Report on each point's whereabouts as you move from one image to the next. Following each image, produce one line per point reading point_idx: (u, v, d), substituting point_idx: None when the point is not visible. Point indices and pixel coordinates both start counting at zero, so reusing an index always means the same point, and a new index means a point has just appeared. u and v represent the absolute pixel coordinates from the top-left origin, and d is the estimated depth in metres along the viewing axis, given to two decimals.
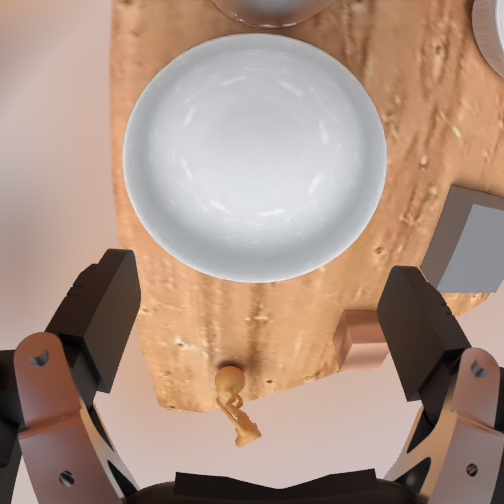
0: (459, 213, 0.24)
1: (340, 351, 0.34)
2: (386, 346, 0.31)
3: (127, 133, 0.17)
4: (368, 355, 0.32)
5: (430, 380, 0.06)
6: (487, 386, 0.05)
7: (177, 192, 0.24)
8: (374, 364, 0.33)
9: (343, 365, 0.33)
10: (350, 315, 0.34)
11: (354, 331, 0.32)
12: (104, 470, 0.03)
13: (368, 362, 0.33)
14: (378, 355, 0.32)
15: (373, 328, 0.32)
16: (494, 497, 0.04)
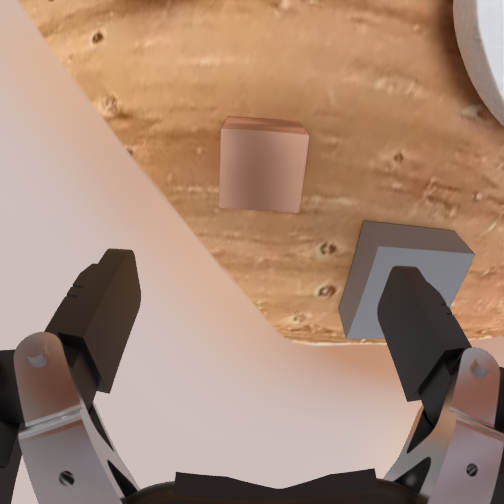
0: (454, 244, 0.23)
1: (246, 124, 0.18)
2: (290, 201, 0.19)
3: None
4: (269, 173, 0.18)
5: (430, 380, 0.06)
6: (487, 386, 0.05)
7: None
8: (235, 194, 0.19)
9: (240, 131, 0.17)
10: None
11: None
12: (104, 470, 0.03)
13: (243, 180, 0.19)
14: (265, 194, 0.19)
15: None
16: (494, 497, 0.04)
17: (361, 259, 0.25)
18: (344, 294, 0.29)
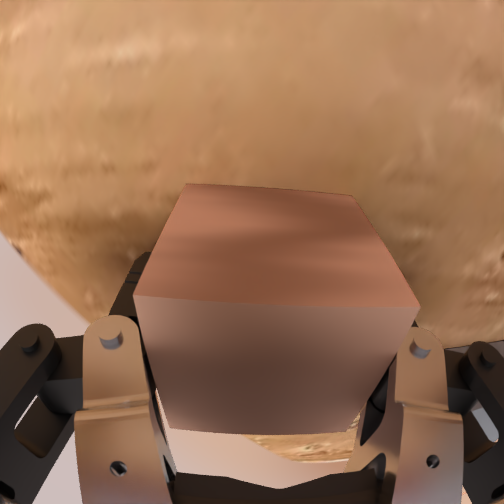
0: None
1: (225, 243, 0.06)
2: (331, 422, 0.07)
3: None
4: (288, 391, 0.06)
5: None
6: (425, 366, 0.05)
7: None
8: (203, 417, 0.07)
9: (198, 307, 0.05)
10: None
11: None
12: (161, 467, 0.03)
13: (221, 400, 0.07)
14: (277, 417, 0.07)
15: None
16: (469, 483, 0.05)
17: None
18: None
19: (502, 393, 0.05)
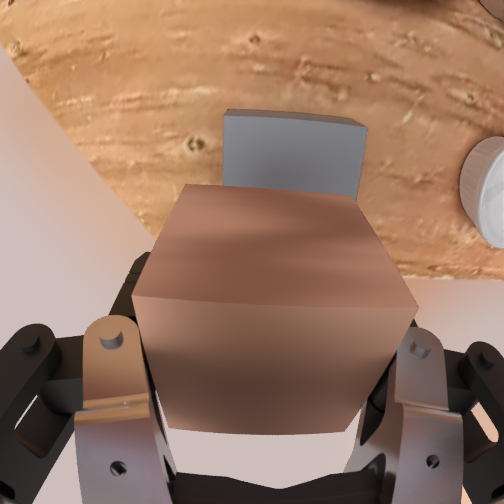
0: (340, 121, 0.21)
1: (223, 243, 0.06)
2: (330, 422, 0.07)
3: None
4: (286, 391, 0.06)
5: None
6: (425, 366, 0.05)
7: None
8: (202, 417, 0.07)
9: (196, 307, 0.05)
10: None
11: None
12: (162, 467, 0.03)
13: (219, 400, 0.07)
14: (275, 418, 0.07)
15: None
16: (470, 483, 0.05)
17: None
18: None
19: (502, 393, 0.05)
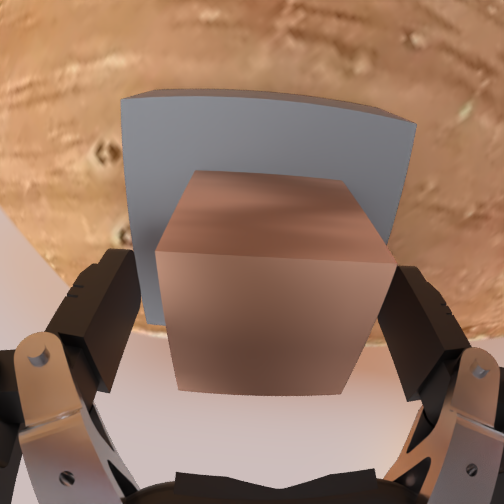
0: (360, 108, 0.10)
1: (231, 214, 0.08)
2: (327, 382, 0.08)
3: None
4: (286, 345, 0.08)
5: (430, 380, 0.06)
6: (487, 386, 0.05)
7: None
8: (210, 376, 0.08)
9: (209, 260, 0.06)
10: None
11: None
12: (104, 470, 0.03)
13: (226, 356, 0.08)
14: (277, 375, 0.08)
15: None
16: (494, 497, 0.04)
17: None
18: None
19: None
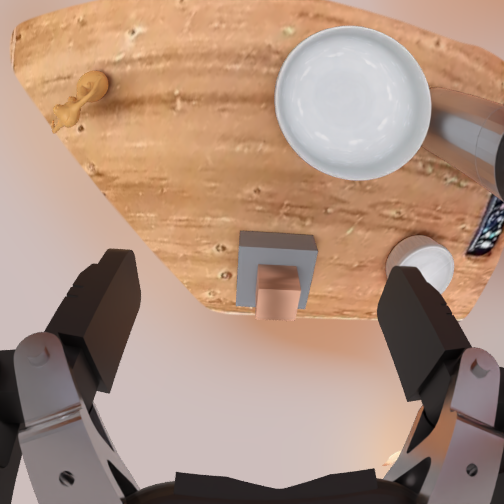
0: (303, 244, 0.41)
1: (270, 280, 0.38)
2: (290, 316, 0.39)
3: (390, 38, 0.23)
4: (281, 306, 0.38)
5: (430, 380, 0.06)
6: (487, 386, 0.05)
7: (322, 47, 0.28)
8: (264, 314, 0.39)
9: (267, 290, 0.37)
10: None
11: None
12: (104, 470, 0.03)
13: (268, 308, 0.38)
14: (279, 313, 0.39)
15: None
16: (495, 497, 0.04)
17: None
18: None
19: None
